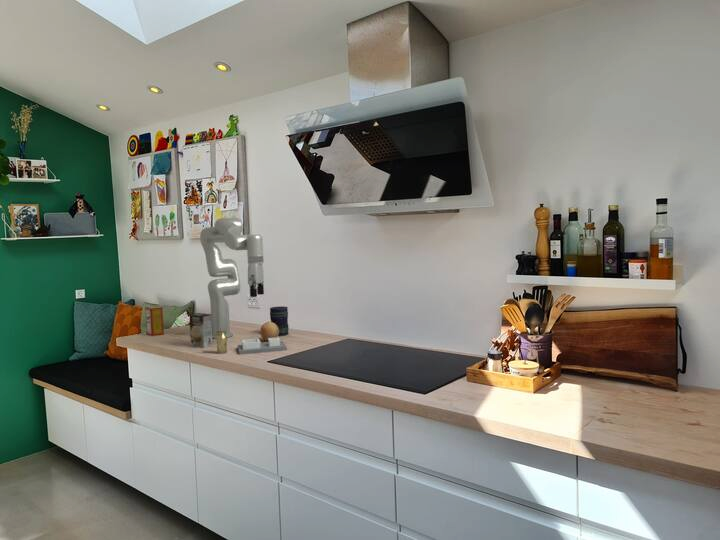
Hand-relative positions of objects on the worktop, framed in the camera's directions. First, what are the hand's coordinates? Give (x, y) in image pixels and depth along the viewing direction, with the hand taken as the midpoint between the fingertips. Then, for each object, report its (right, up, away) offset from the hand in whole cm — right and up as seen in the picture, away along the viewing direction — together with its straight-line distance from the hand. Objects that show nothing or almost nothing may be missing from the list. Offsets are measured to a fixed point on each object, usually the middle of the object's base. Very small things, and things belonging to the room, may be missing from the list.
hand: (257, 295), depth 245 cm
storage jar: (+6, -23, +34) cm, 41 cm away
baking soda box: (-68, -25, +45) cm, 85 cm away
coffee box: (-30, -26, +10) cm, 41 cm away
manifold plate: (+2, -26, -1) cm, 26 cm away
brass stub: (-15, -27, -6) cm, 31 cm away
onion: (+3, -25, +18) cm, 31 cm away
